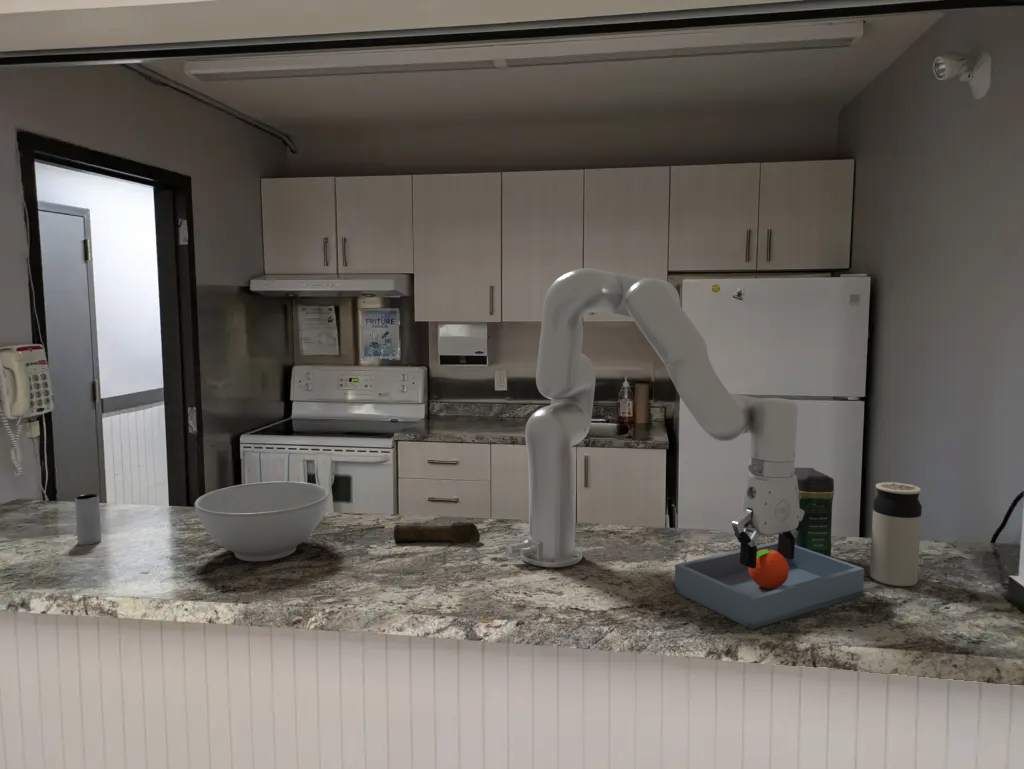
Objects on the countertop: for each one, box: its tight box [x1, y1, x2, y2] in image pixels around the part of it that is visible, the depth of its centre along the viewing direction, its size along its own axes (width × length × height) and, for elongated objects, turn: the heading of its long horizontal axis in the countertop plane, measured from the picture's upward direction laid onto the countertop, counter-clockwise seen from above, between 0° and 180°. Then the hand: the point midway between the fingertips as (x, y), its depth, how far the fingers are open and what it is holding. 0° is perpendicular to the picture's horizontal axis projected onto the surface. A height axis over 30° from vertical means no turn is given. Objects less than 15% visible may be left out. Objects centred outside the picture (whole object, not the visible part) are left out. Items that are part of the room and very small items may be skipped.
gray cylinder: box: [74, 493, 102, 546], centre depth 156 cm, size 4×4×10 cm
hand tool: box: [393, 521, 481, 544], centre depth 156 cm, size 19×4×5 cm, turn 85°
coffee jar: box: [794, 467, 835, 557], centre depth 145 cm, size 10×8×19 cm
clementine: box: [748, 549, 789, 589], centre depth 127 cm, size 8×7×7 cm
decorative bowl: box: [194, 480, 331, 562], centre depth 149 cm, size 27×27×12 cm
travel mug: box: [869, 481, 922, 588], centre depth 133 cm, size 8×8×18 cm
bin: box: [674, 540, 865, 630], centre depth 127 cm, size 28×18×5 cm, turn 119°
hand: (767, 561), depth 127 cm, fingers open, 9 cm apart
